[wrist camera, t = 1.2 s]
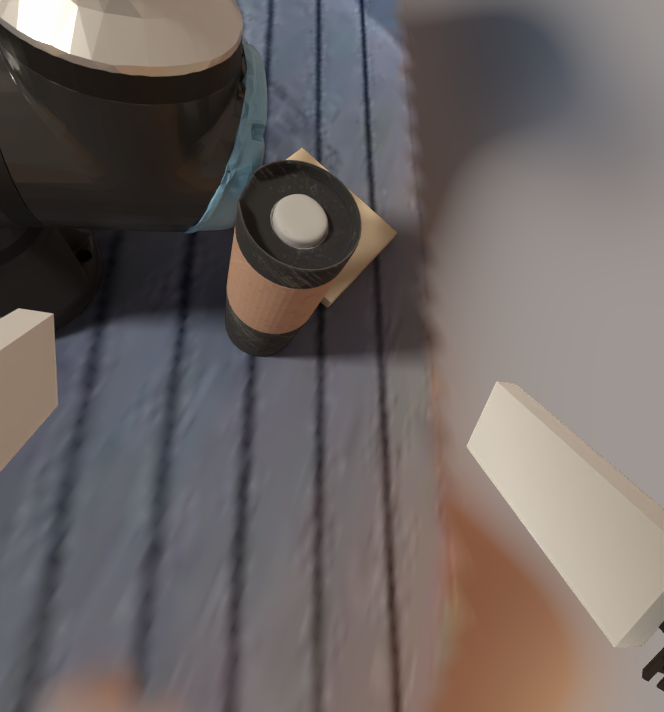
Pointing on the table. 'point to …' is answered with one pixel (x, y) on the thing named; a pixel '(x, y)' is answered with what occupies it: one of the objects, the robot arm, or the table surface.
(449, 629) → the table surface
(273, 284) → the travel mug
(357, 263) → the coaster board
